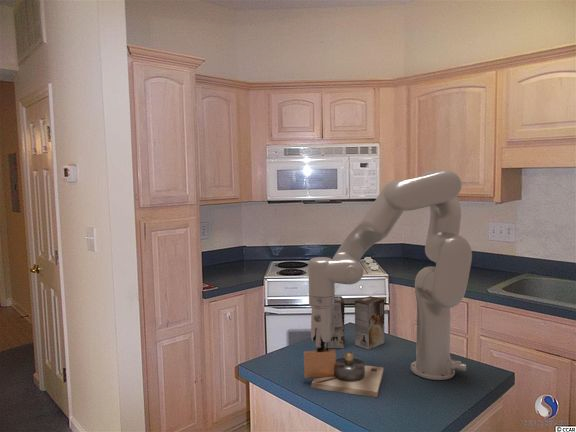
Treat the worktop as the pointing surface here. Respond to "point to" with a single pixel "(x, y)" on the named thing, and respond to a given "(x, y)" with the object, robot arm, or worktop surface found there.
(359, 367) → the cam dial
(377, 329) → the coffee box
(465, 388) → the worktop surface
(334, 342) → the coffee box
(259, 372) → the worktop surface
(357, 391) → the dial board
